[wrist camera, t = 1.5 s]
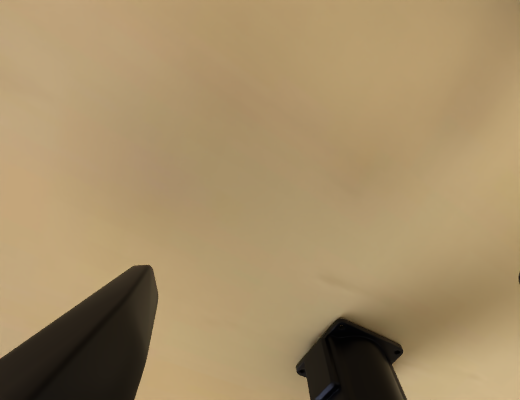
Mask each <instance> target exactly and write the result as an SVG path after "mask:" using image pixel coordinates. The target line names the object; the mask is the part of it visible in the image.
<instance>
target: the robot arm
mask: <svg viewBox="0 0 520 400" xmlns="http://www.w3.org/2000/svg"><path fill="white" fill-rule="evenodd" d="M519 283H520V273H519ZM157 304H158V291H157V286H156V281H155V276H154V272H153V269H152V267H151V266H150V265H138V266H133V267H131V268H130V269H128V270H127V271H125V272H124V273H122V274H121V275H119V276H118V277H117V278H115V279H114V280H112V281H111V282H109V283H108V284H107V285H105V286H104V287H102V288H101V289H99V290H98V291H97V292H95V293H94V294H92V295H91V296H89V297H88V298H87V299H85V300H84V301H82V302H81V303H79V304H78V305H77V306H75V307H74V308H72V309H71V310H69V311H68V312H67V313H65V314H64V315H62V316H61V317H59V318H58V319H57V320H55V321H54V322H52V323H51V324H49V325H48V326H47V327H45V328H44V329H42V330H41V331H39V332H38V333H37V334H35V335H34V336H32V337H31V338H29V339H28V340H26V341H25V342H24V343H22V344H21V345H19V346H18V347H16V348H15V349H14V350H12V351H11V352H9V353H8V354H6V355H5V356H4V357H2V358H1V359H0V400H134V399H135V396H136V393H137V389H138V386H139V383H140V380H141V377H142V374H143V370H144V367H145V363H146V359H147V355H148V350H149V345H150V340H151V334H152V329H153V324H154V319H155V314H156V309H157ZM340 325H342V326H340ZM402 354H403V349H402V347H401V345H399V344H397V343H395V342H393V341H391V340H389V339H386V338H384V337H382V336H380V335H378V334H376V333H373V332H371V331H369V330H367V329H365V328H363V327H360V326H358V325H356V324H354V323H352V322H350V321H347V320H345V319H338V320H336V321H335V322H334V323H333V325H332V326H331V327H330V328H329V329H328V330H327V331H326V333H325V334H324V335H323V336H322V337H321V338H320V339H319V340H318V341H317V343H316V344H315V345H314V346H313V347H312V348H311V349H310V351H309V352H308V353H307V354H306V355H305V356H304V358H303V359H302V360H301V361H300V362H299V363H298V364H297V366H296V370H297V373H298V374H299V375H301V376H304V377H306V378H307V381H308V388H309V394H310V400H407V398H406V396H405V394H404V391H403V389H402V387H401V385H400V382H399V380H398V378H397V375H396V373H395V371H394V368H393V366H392V364H393V363H394V362H395V361H396V360H397V359H398V358H399V357H400V356H401V355H402Z"/></svg>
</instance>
